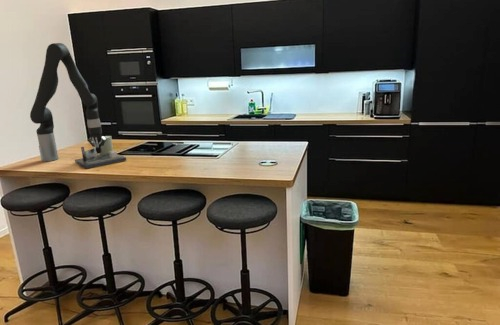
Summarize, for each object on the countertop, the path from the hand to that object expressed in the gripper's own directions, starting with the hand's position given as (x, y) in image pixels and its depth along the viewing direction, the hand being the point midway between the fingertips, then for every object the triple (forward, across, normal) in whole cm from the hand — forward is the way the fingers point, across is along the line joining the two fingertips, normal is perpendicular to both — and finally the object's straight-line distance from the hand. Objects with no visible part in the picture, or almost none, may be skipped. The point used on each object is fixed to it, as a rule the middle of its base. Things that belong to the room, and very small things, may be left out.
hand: (99, 152), depth 225 cm
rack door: (+1, -3, -3) cm, 5 cm away
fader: (+2, +14, -5) cm, 15 cm away
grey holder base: (+4, +6, -7) cm, 10 cm away
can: (+4, -3, +11) cm, 12 cm away
